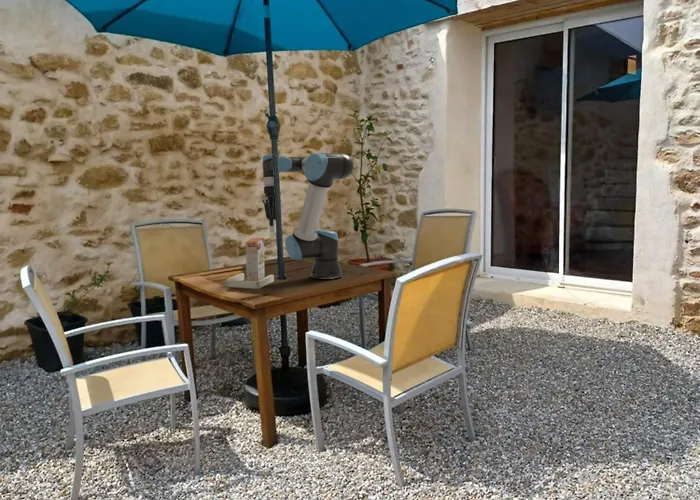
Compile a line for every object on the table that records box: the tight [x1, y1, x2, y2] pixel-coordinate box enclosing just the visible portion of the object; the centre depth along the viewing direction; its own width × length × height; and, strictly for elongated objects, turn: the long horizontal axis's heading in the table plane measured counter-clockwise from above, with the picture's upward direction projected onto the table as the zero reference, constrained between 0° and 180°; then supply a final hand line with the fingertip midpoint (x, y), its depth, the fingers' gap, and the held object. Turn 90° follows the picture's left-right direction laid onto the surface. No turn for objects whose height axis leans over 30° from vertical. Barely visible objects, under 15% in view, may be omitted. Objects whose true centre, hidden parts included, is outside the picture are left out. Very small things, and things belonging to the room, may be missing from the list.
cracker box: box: [245, 237, 266, 281], centre depth 273 cm, size 14×6×21 cm, turn 176°
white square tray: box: [224, 272, 275, 290], centre depth 275 cm, size 17×17×3 cm
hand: (273, 232), depth 298 cm, fingers closed
